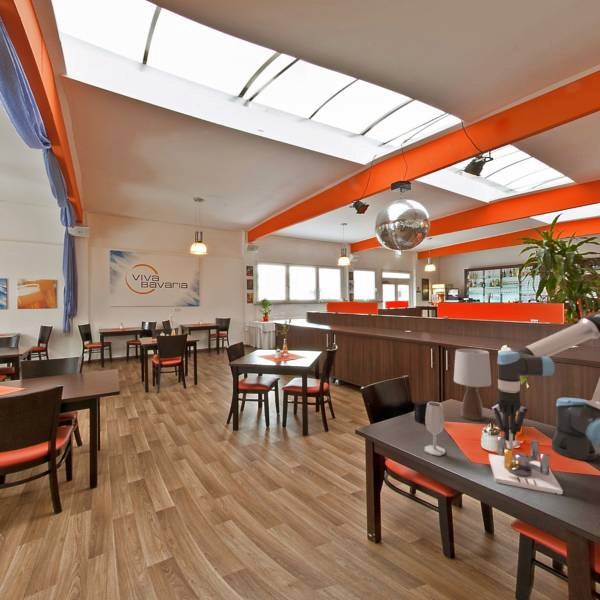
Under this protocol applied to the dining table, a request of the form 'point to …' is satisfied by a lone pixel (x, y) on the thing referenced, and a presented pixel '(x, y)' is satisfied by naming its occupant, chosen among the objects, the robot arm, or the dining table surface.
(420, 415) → the electronic device
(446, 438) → the dining table surface
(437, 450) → the wineglass
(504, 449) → the silver metal piece
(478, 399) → the lamp
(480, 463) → the dining table surface
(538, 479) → the stand plate
